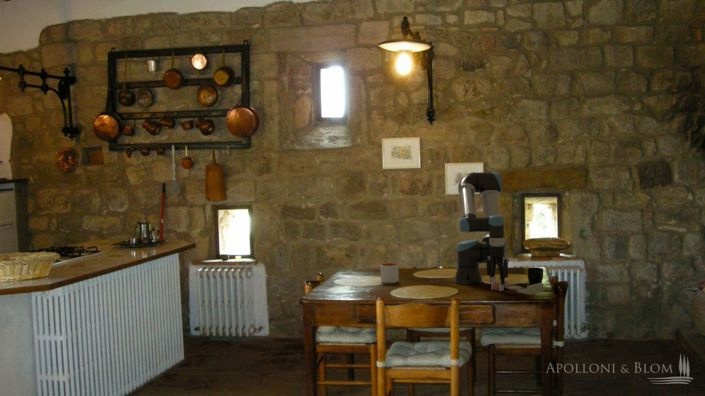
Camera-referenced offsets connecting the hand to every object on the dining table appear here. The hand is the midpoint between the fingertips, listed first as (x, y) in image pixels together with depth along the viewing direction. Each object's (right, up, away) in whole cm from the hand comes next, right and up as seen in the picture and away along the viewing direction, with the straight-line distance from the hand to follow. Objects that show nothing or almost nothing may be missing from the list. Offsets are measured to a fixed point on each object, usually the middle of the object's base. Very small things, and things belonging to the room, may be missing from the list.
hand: (497, 289), depth 350 cm
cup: (-54, 0, +31) cm, 63 cm away
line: (+13, 0, -2) cm, 13 cm away
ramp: (+8, 0, +4) cm, 9 cm away
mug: (+22, 0, +6) cm, 23 cm away
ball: (0, +2, 0) cm, 2 cm away
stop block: (+16, 0, -5) cm, 16 cm away
